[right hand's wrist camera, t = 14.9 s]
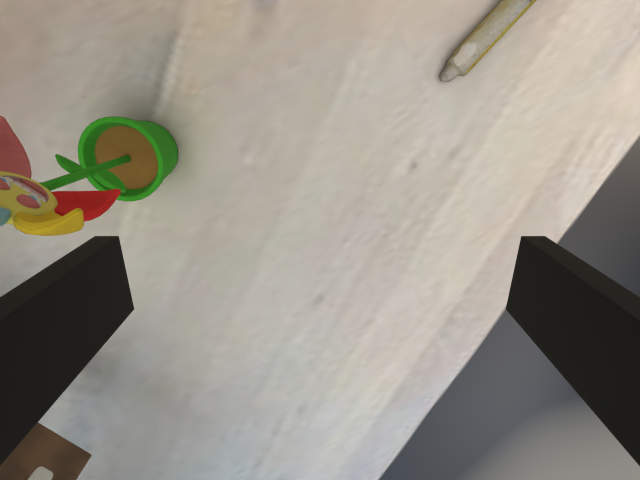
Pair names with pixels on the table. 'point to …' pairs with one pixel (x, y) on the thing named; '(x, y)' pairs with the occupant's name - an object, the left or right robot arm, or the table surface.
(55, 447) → the bar
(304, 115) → the table surface
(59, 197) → the potted flower
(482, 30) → the syringe
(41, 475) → the left robot arm
